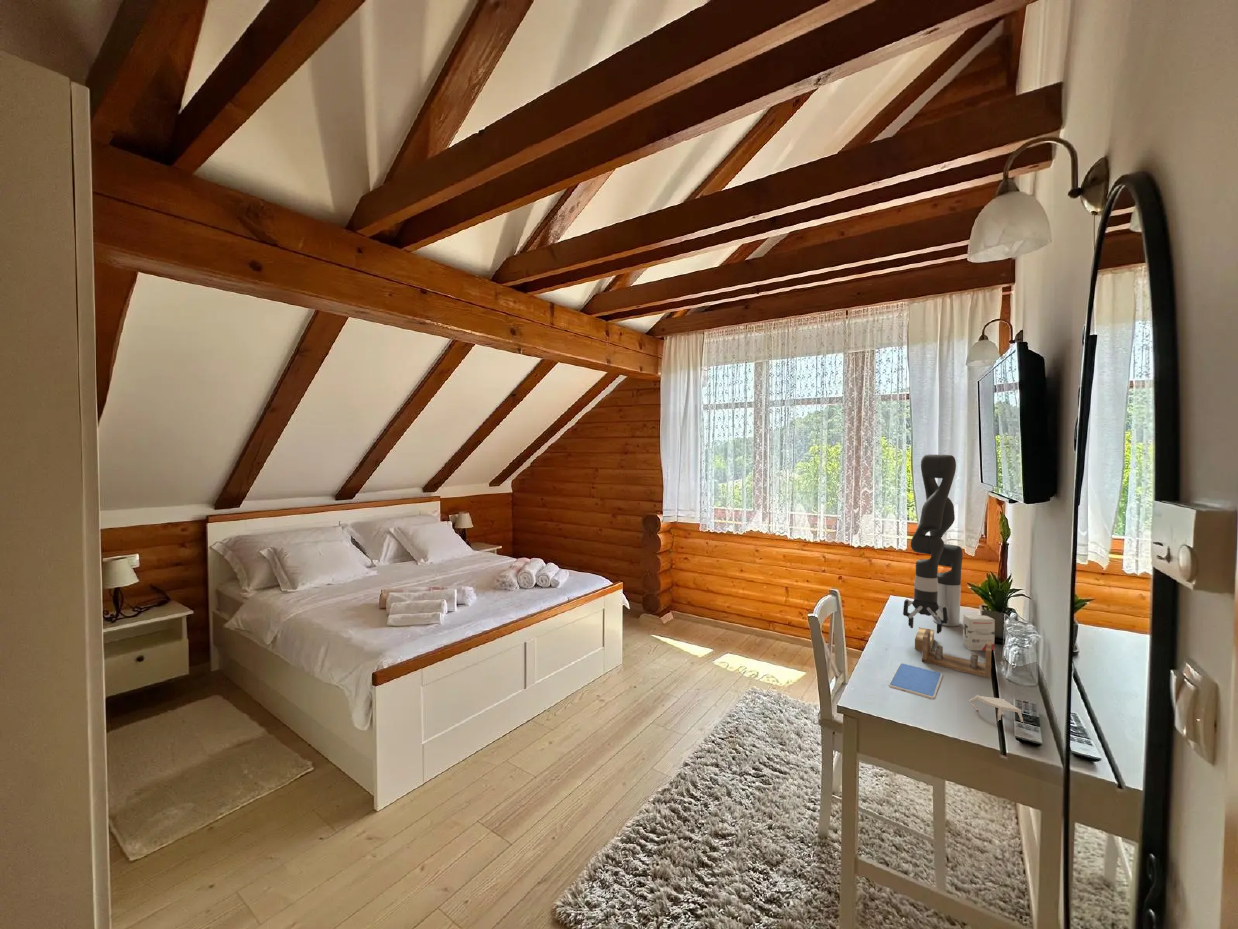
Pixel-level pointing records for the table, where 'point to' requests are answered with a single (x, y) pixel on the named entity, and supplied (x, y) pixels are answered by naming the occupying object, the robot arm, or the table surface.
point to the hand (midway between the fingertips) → (924, 630)
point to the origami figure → (997, 705)
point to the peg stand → (956, 659)
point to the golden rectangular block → (920, 638)
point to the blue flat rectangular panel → (916, 680)
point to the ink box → (978, 631)
